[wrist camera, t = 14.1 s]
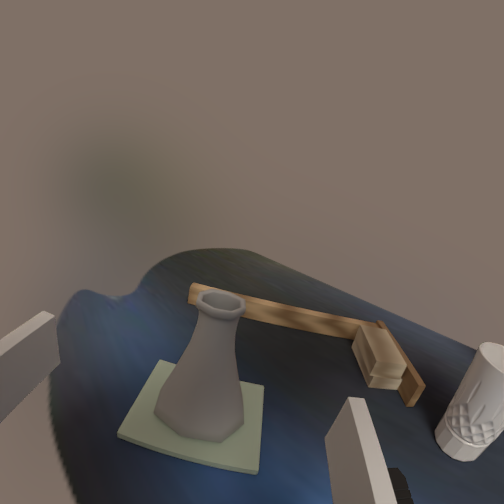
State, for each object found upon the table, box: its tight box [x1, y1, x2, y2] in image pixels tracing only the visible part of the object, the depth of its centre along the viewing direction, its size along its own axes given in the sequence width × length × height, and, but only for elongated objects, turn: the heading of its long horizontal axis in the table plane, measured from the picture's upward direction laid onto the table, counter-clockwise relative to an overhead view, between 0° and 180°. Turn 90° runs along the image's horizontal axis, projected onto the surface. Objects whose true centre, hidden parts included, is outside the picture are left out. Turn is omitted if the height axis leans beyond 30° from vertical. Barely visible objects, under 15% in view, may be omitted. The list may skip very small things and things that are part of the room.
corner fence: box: [188, 283, 426, 407], centre depth 33 cm, size 28×16×3 cm, turn 86°
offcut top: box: [355, 325, 407, 379], centre depth 33 cm, size 4×9×2 cm, turn 173°
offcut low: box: [351, 338, 402, 390], centre depth 33 cm, size 4×9×2 cm, turn 177°
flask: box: [154, 289, 246, 443], centre depth 20 cm, size 7×7×10 cm
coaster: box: [117, 360, 264, 475], centre depth 21 cm, size 10×10×1 cm
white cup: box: [435, 342, 504, 462], centre depth 19 cm, size 8×8×10 cm
